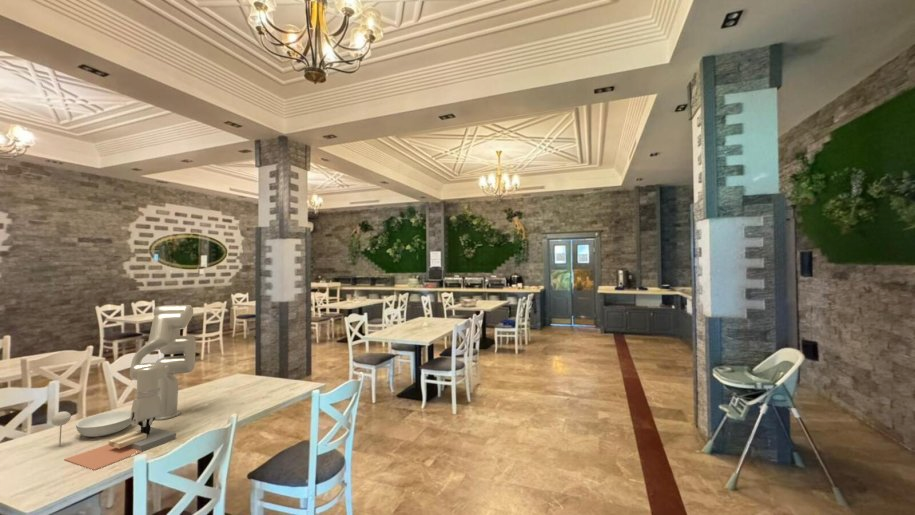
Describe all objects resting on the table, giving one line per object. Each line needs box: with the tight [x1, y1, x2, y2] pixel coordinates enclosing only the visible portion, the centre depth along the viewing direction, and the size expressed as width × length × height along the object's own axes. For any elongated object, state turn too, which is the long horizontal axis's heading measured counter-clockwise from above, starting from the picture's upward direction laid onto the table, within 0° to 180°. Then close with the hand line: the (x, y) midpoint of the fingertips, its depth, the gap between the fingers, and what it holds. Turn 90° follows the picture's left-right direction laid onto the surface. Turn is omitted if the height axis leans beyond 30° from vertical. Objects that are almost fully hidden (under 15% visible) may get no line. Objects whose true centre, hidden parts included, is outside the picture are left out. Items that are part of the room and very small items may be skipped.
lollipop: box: [51, 411, 72, 447], centre depth 163 cm, size 6×6×15 cm
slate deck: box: [113, 426, 177, 452], centre depth 168 cm, size 20×14×2 cm
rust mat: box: [63, 444, 143, 471], centre depth 154 cm, size 22×16×1 cm
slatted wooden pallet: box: [107, 430, 147, 449], centre depth 162 cm, size 8×10×2 cm
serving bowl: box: [75, 410, 132, 437], centre depth 178 cm, size 21×21×7 cm
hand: (145, 434), depth 168 cm, fingers closed
